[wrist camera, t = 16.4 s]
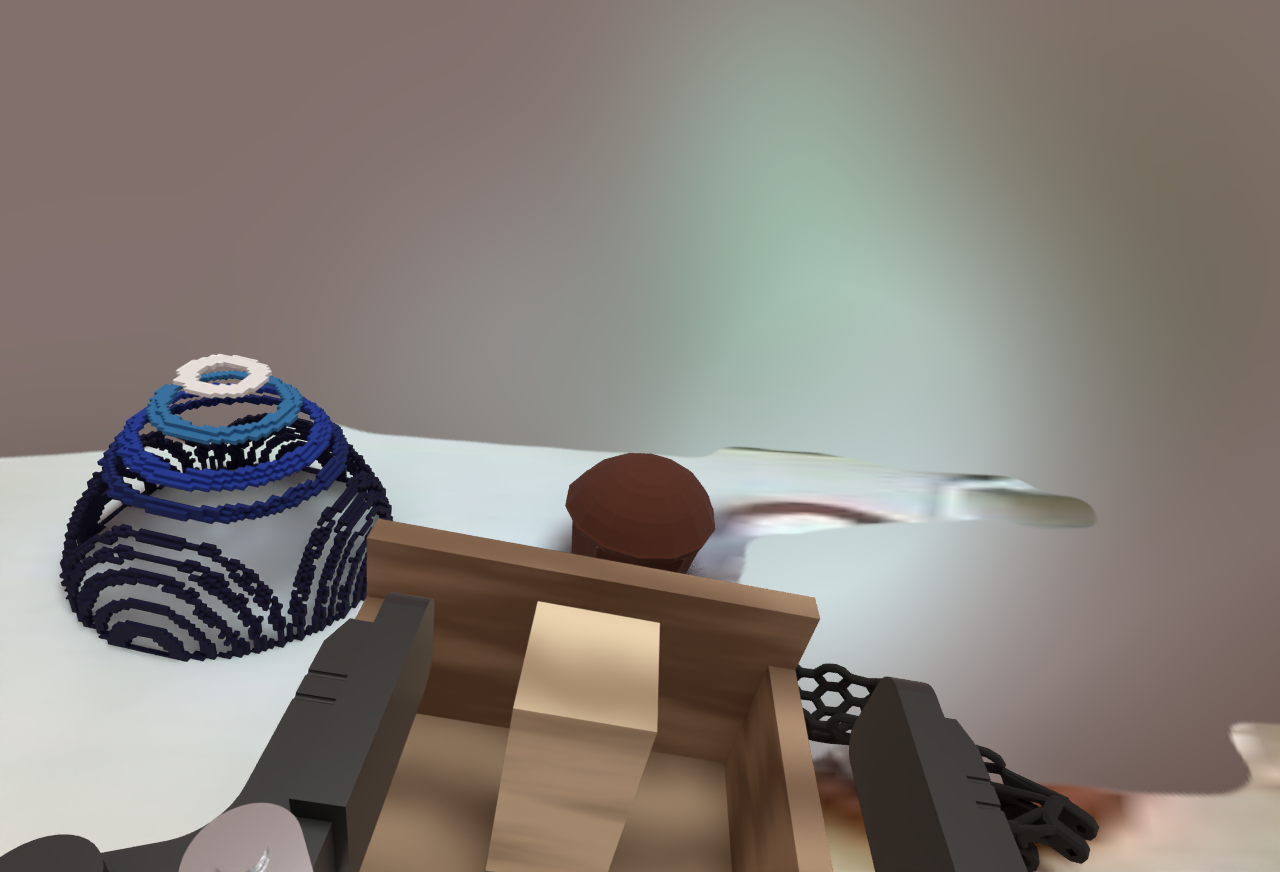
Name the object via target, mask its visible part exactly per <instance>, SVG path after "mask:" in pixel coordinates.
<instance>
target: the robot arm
mask: <svg viewBox="0 0 1280 872" xmlns="http://www.w3.org/2000/svg"><path fill="white" fill-rule="evenodd" d="M433 627H434V600H433V599H430V598H424V597H418V596H412V595H406V594H400V593H394V592H390V593H389V594H388V595H387V596H386V598H385V599H384V601H383V603H382V605H381V608H380V610H379V612H378V614H377V616H376V618H375V620H374V622H369V621H363V620H356V619H349V620H348V621H346V622H345V623H344V624H343V625H342V626H341V627H339V628H338V629H337V630H336V631H335V632H334V633H333V634H331V635H330V636H329V637H328V638H327V639H326V640H324V642H323V644H322V646H321V647H320V649H319V651H318V653H317V655H316V657H315V658H314V660H313V662H312V664H311V666H310V668H309V671H308V674H307V675H305V677H304V679H303V680H302V682H301V684H300V686H299V688H298V690H297V691H296V695H295V698H294V699H292V701H291V702H290V704H289V706H288V708H287V710H286V712H285V713H284V715H283V717H282V719H281V721H280V723H279V724H278V726H277V728H276V730H275V732H274V734H273V736H272V737H271V739H270V741H269V743H268V745H267V747H266V748H265V750H264V752H263V754H262V756H261V758H260V759H259V761H258V763H257V765H256V767H255V769H254V770H253V772H252V774H251V776H250V778H249V780H248V781H247V783H246V785H245V787H244V788H243V790H242V792H241V793H240V795H239V796H238V797H237V798H236V800H235V801H234V802H233V803H232V804H231V805H230V806H229V807H228V808H227V809H226V810H225V811H224V812H223V813H222V814H221V815H219V816H218V817H217V818H216V819H214V820H212V821H211V822H210V823H208V824H207V825H205V826H204V827H202V828H200V829H198V830H196V831H194V832H192V833H190V834H187V835H185V836H182V837H179V838H176V839H172V840H168V841H163V842H158V843H153V844H147V845H142V846H136V847H131V848H125V849H120V850H114V851H109V852H104V853H100V851H99V850H98V848H97V847H96V846H95V844H93V843H92V842H90V841H89V840H88V839H85V838H83V837H80V836H75V835H53V836H46V837H43V838H39V839H36V840H33V841H30V842H28V843H25V844H23V845H21V846H19V847H17V848H15V849H13V850H11V851H9V852H8V853H6V854H5V855H3V856H1V857H0V872H359V871H360V868H361V866H362V863H363V860H364V857H365V855H366V852H367V849H368V846H369V843H370V841H371V838H372V835H373V832H374V830H375V827H376V824H377V821H378V818H379V816H380V813H381V810H382V807H383V805H384V802H385V799H386V796H387V794H388V791H389V788H390V785H391V782H392V780H393V777H394V774H395V771H396V769H397V766H398V763H399V760H400V758H401V755H402V752H403V749H404V746H405V744H406V741H407V738H408V735H409V733H410V730H411V727H412V724H413V721H414V719H415V716H416V713H417V710H418V708H419V705H420V702H421V699H422V697H423V694H424V691H425V688H426V684H427V680H428V676H429V672H430V667H431V661H432V649H433ZM849 756H850V763H851V767H852V772H853V776H854V781H855V785H856V789H857V794H858V798H859V803H860V807H861V811H862V816H863V820H864V824H865V829H866V833H867V838H868V842H869V846H870V851H871V855H872V860H873V864H874V868H875V872H1028V871H1027V868H1026V866H1025V863H1024V861H1023V858H1022V856H1021V853H1020V851H1019V848H1018V846H1017V844H1016V841H1015V839H1014V836H1013V834H1012V831H1011V829H1010V826H1009V824H1008V821H1007V819H1006V816H1005V814H1004V811H1001V809H1000V806H1001V804H1000V801H999V799H998V796H997V794H996V791H995V789H994V786H993V785H991V784H990V780H991V779H990V776H989V774H988V771H987V769H986V766H985V764H984V761H983V759H982V756H981V754H980V752H979V749H978V747H977V746H976V745H975V744H974V742H973V741H972V740H971V738H970V737H969V736H968V734H967V733H966V732H965V730H964V729H963V728H962V727H961V725H960V724H959V723H958V721H957V720H955V719H949V718H944V715H943V712H942V710H941V707H940V704H939V702H938V699H937V696H936V694H935V692H934V690H933V688H932V687H931V686H930V685H929V684H927V683H922V682H917V681H910V680H905V679H898V678H892V677H884V678H882V679H881V680H880V681H879V683H878V685H877V686H876V688H875V690H874V691H873V693H872V695H871V696H870V698H869V700H868V702H867V703H866V705H865V707H864V708H863V710H862V712H861V714H860V715H859V717H858V719H857V720H856V722H855V724H854V726H853V728H852V731H851V735H850V742H849Z"/></svg>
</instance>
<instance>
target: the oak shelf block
mask: <svg viewBox="0 0 1280 872" xmlns="http://www.w3.org/2000/svg"><path fill="white" fill-rule="evenodd" d="M659 632H660V623H657V622H651V621H646V620H640V619H635V618H629V617H623V616H618V615H612V614H607V613H601V612H595V611H590V610H584V609H579V608H573V607H567V606H562V605H556V604H551V603H545V602H539V601H538V603H537V607H536V611H535V616H534V620H533V624H532V629H531V633H530V637H529V642H528V646H527V650H526V655H525V659H524V663H523V668H522V672H521V676H520V681H519V685H518V689H517V694H516V698H515V702H514V707H513V712H512V718H511V724H510V730H509V736H508V742H507V747H506V753H505V759H504V765H503V771H502V777H501V783H500V789H499V794H498V800H497V806H496V812H495V818H494V824H493V830H492V836H491V841H490V847H489V853H488V859H487V865H486V871H492V872H608V870H609V867H610V865H611V862H612V859H613V856H614V853H615V850H616V848H617V845H618V842H619V839H620V836H621V833H622V831H623V828H624V825H625V822H626V819H627V816H628V814H629V811H630V808H631V805H632V802H633V799H634V797H635V794H636V791H637V788H638V785H639V782H640V780H641V777H642V774H643V771H644V768H645V765H646V763H647V760H648V757H649V754H650V751H651V748H652V746H653V743H654V740H655V737H656V734H657V718H658V675H659Z"/></svg>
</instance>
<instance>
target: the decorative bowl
mask: <svg viewBox="0 0 1280 872" xmlns="http://www.w3.org/2000/svg"><path fill="white" fill-rule="evenodd" d="M217 366H218V367H223V366H228V367H233V368H237V369H241V370H246V371H243V372H239V371H228V372H225V371H223V372H219V371H217V372H216V373H214V372H211V373H209V374H208V375H207V374H203V375H202V374H201V373H203V372H204V371H205V370H207V369H210V370H213V369H214V368H216V367H217ZM176 374H177V375H178V377H177V378H176V379H174V380H173V384H171V385H167V384H166V385H164V386H163V387H161V388H160V389H158V390H157V391H155V392H154V393H155V396H153V397H152V398H150V403H148V406H147V407H146V408H144V409H143V410H141V411H140V412H138V413H137V414H135V415H134V416H132V417H131V418H130V419H128V420H127V421H126V425H125V426H124V430H123V431H122V432H120V433H119V434H118V436H116V437H115V438H114V439H115V441H114V442H113V443H111V444H110V445H109V449H108V450H107V451H105V452H104V453H103V454H104V457H103V458H102V459H100V460H99V461H97V462H98V465H100V466H103V467H102V471H101V472H94V473H93V474H92V475H93V478H92V479H90V480H89V481H87V485H88V489H87V490H86V491H84V492H83V493H82V496H83V497H81V498H80V499H79V500H78V501H76V502H77V505H76V506H75V507H74V510H75V511H73V512H72V517H71V518H69V520H70V522H69V523H68V524H67V529H68V532H66V533H65V538H66V541H65V542H64V549H65V550H63V551H62V554H63V556H62V557H63V559H62V560H61V562H60V565H61V568H62V571H63V572H62V573H61V574H60V578H63V579H64V580H63V581H62V582H61V585H62V586H66V589H65V590H64V591H66V592H68V594H69V595H67V597H66V599H68V600H69V602H70V605H71V608H72V612H75V613H77V614H76V615H77V618H78V621H80V622H83V626H84V627H89V628H93V629H96V630H97V633H98V634H101V635H100V636H99V638H101V639H106V640H107V641H108V644H110V645H114V646H119V647H123V648H127V649H132V650H136V651H141V652H145V653H150V654H154V655H159V656H163V657H168V658H172V659H177V660H181V661H186V662H188V660H189V659H190V658H191V659H195V660H200V661H204V660H205V659H206V658H209V659H213V660H215V659H216V658H217V656H218V657H222V658H227V659H231V658H232V656H236V657H240V658H242V656H243V655H244V654H245V655H249V654H250V652H253V653H258V654H260V652H261V651H267V649H268V648H270V649H273V648H274V646H278V647H282V648H283V647H284V646H285V644H286V643H287V642H292V641H293V640H294V639H296V640H300V641H302V640H303V639H304V638H305V636H306V635H310V636H311V634H312V633H317V632H318V631H319V630H320V631H323V630H324V628H325V627H326V625H328V626H331V625H332V623H333V622H334V620H336V621H339V619H340V618H342V619H344V618H345V617H346V615H347V614H348V612H349V611H350V609H351V607H352V608H356V606H357V605H358V603H359V602H360V600H363V601H365V599H366V597H367V552H366V554H365V558H364V559H363V561H362V565H361V567H360V571H359V573H358V574H357V576H356V583H355V590H354V592H353V602H352V604H351V606H350V603H349V595H350V594H351V586H352V585H353V580H354V579H355V574H356V570H357V568H358V564H359V562H360V561H361V559H362V555H363V554H364V552H365V548H366V546H367V537H368V535H369V533H370V531H371V530H372V528H373V527H371V528H370V530H369V531H368V533H367V534H366V535H365V540H364V541H363V543H362V544H361V546H360V547H359V548H358V550H357V551H356V556H355V557H354V558H353V557H350V558H349V559H348V563H352V565H351V569H350V571H349V575H348V576H347V581H346V582H345V586H344V585H341V586H340V588H339V592H337V587H338V586H339V581H340V580H341V576H342V574H343V570H344V568H345V564H346V559H347V558H348V556H349V555H350V550H351V549H352V548H353V546H354V542H355V540H356V539H357V538H358V536H359V535H360V536H363V535H364V534H365V532H366V531H367V530H368V528H369V527H370V525H371V524H372V523H373V519H371V518H372V517H374V516H375V515H376V514H377V515H380V516H379V517H380V518H383V520H389V521H393V516H391V510H392V505H390V504H389V501H388V498H387V497H386V489H385V488H383V485H382V484H381V482H380V481H379V479H378V477H375V473H374V472H372V468H370V466H369V465H367V464H365V460H364V459H363V456H362V455H358V452H356V451H355V449H353V445H350V444H348V442H347V439H346V438H345V435H343V429H341V427H340V426H339V425H337V424H335V423H332V422H331V420H330V417H329V416H327V415H326V413H325V412H324V409H322V408H320V407H318V406H316V403H313V402H311V401H309V400H307V399H305V397H303V396H301V394H300V393H299V391H297V388H294V387H292V385H290V384H286V383H282V380H280V379H279V378H275V377H273V376H271V375H272V371H271V370H270V368H268V365H265V364H261V363H258V360H254V359H249V358H245V357H241V356H237V355H233V356H227V355H222V354H218V355H211V356H209V357H208V358H205V357H202V358H200V359H199V360H192V361H190V362H188V363H187V364H185V365H184V366H182V367H181V368H179V369H177V370H176ZM229 378H231V379H234V378H235V379H239V380H242V381H241V382H239V383H237V384H230V383H227V384H226V385H225V384H220V383H215V382H214V383H212V384H209V383H205V382H208V381H210V380H213V381H215V380H217V379H219V380H222V379H225V380H227V379H229ZM182 388H183V389H184V390H185V392H184V391H180V392H178V391H179V390H181V389H182ZM249 392H256V393H260V394H261V393H263V392H266V393H270V394H274V395H279V396H280V398H281V399H279V398H275V397H271V396H266V395H263V396H262V397H261V396H257V395H253V394H250V395H249V396H248V395H246V394H247V393H249ZM199 396H203V398H202V399H200V400H194V401H191V400H190V401H188V402H186V403H185V404H183V403H180V404H178V405H177V404H174V403H175V402H177V401H178V400H180V399H181V398H182V399H186V398H193V397H199ZM235 402H238V403H244V402H248V403H252V404H256V405H259V404H261V403H262V404H266V405H270V406H272V405H273V404H275V405H278V406H277V411H276V412H275V413H269V414H268V413H264V414H261V415H260V414H258V415H256V416H252V415H247V416H246V417H244V418H243V419H240V418H238V419H237V420H235V421H234V423H231V424H230V425H228V426H227V427H224V426H220V427H219V428H216V427H211V426H207V425H204V426H203V427H199V426H195V425H192V422H190V421H186V420H182V418H181V416H176V415H175V414H179V415H180V414H181V413H182V412H184V411H185V410H187V409H189V410H192V409H193V408H196V409H198V408H199V407H201V406H202V405H203V406H207V407H210V406H212V405H213V406H216V405H218V404H219V403H224V404H228V405H232V404H233V403H235ZM171 403H172V404H173V405H172V406H171V407H169V406H168V405H170V404H171ZM299 412H303V413H305V414H308V415H310V419H312V420H315V421H314V424H313V422H312V421H308V420H304V419H300V418H298V415H297V414H298V413H299ZM148 422H149V423H151V426H155V427H156V428H157V430H158V431H157V432H154V431H151V432H150V433H149V434H147V435H146V434H142V435H141V436H140V435H139V433H138V432H139V431H140V430H141V429H143V428H144V425H145V424H146V423H148ZM286 426H288V427H292V428H296V429H291V428H286ZM295 432H296V433H300V435H299V434H295ZM165 435H168V436H172V437H176V438H178V439H181V440H183V441H185V444H186V445H189V446H191V447H195V446H197V448H196V449H195V450H194V454H195V456H197V457H198V462H199V463H201V466H202V471H201V470H200V469H199V468H198V467H195V468H194V467H193V463H194V462H196V460H195V458H191V459H190V458H189V457H190V456H191V455H192V452H189V451H188V452H187V453H186V450H183V448H182V446H183V444H182V443H180V442H177V441H176V442H174V443H173V440H170V439H165V437H164V436H165ZM273 435H276V436H275V437H273V438H272V439H270V440H269V441H267V442H266V448H265V449H264V450H262V451H261V457H260V458H258V462H259V464H257V463H255V464H254V463H253V462H255V461H256V453H255V449H258V448H259V447H261V446H262V445H264V441H265V440H267V439H268V438H270V437H271V436H273ZM296 439H300V440H304V441H308V442H304V441H299V440H298V441H297V442H291V443H290V444H288V445H282V446H281V449H279V450H278V454H276V455H275V457H276V460H273V461H272V462H270V459H269V454H270V453H271V452H272V449H274V448H275V447H277V446H278V445H280V444H281V443H283V442H284V441H285V442H289V441H290V440H293V441H295V440H296ZM251 441H252V444H253V447H251V448H250V451H249V452H248V453H247V456H248V458H247V459H245V457H244V449H245V448H246V447H248V446H249V442H251ZM209 443H211V444H209ZM224 443H226V444H224ZM228 443H229V444H230V445H229V446H228V447H227V444H228ZM146 446H150V447H153V448H156V449H157V448H159V450H161V451H164V450H165V449H166V450H168V452H169V453H170V454H172V457H174V458H177V459H178V462H181V465H182V470H183V473H180V470H177V466H173V465H171V464H170V463H169V462H170V459H168V458H166V459H165V460H164V458H163V457H160V456H157V455H155V454H154V453H150V452H147V451H145V450H144V447H146ZM241 448H242V449H241ZM210 450H213V451H214V456H210V457H209V455H208V452H209V451H210ZM330 452H332V453H330ZM227 453H228V455H230V456H231V461H227V462H226V465H227V468H226V467H224V466H223V461H225V460H226V458H225V454H227ZM334 456H335V457H334ZM208 458H209V461H210V468H211V469H207V463H206V459H208ZM215 459H216V460H217V462H218V469H217V470H216V465H215ZM315 460H318V463H320V464H321V466H322V467H323V468H322V469H321V470H320V469H316V468H311V467H309V466H310V465H311V464H312V463H313V462H314V461H315ZM354 461H355V462H354ZM307 466H308V467H307ZM127 467H128V468H129V469H126V468H127ZM235 468H236V469H237V470H236V471H235V472H233V471H229V470H234V469H235ZM301 470H302V471H306V472H310V473H315V474H317V475H316V479H315V480H314V482H313V483H312V480H309V479H307V480H306V481H305V483H304V484H301V483H299V484H298V485H297V486H296V487H295V488H293V487H290V488H289V489H288V490H287V491H286V492H285V493H284V494H283V495H282V496H281V497H279V496H275V495H272V496H271V497H270V498H269V499H268V500H267V501H266V502H265V503H264V502H260V501H255V503H254V504H253V505H252V506H249V505H245V504H240V503H237V504H236V505H230V504H225V505H224V506H220V505H219V506H218V507H217V508H214V507H210V506H205V505H202V506H201V507H200V508H199V507H195V506H190V505H186V504H181V503H177V502H173V501H168V500H164V499H160V498H155V497H151V496H149V495H150V494H152V493H153V492H154V491H155V490H156V489H160V490H161V489H162V488H163V487H164V486H167V487H172V488H176V489H181V490H185V491H189V492H192V491H194V490H200V491H204V492H209V491H211V490H214V491H219V492H221V491H222V490H223V489H224V490H228V491H233V490H234V489H238V490H243V491H244V490H245V489H246V488H247V487H248V486H253V487H257V488H258V487H259V486H260V485H262V486H265V485H266V484H267V483H268V482H269V481H272V482H274V481H275V480H282V479H283V478H284V477H285V476H289V477H290V476H291V475H292V474H293V473H294V472H297V473H299V472H300V471H301ZM346 470H347V472H350V475H353V477H351V478H347V473H346ZM123 477H127V478H131V479H135V478H137V480H139V481H143V482H144V486H145V491H144V492H142V493H141V494H140V491H139V490H135V489H133V488H132V484H128V483H125V482H124V480H123ZM335 480H336V481H340V482H345V483H346V487H347V488H346V490H345V491H344V492H343V493H342V495H341V496H340V497H339V498H338V500H337V501H336V502H335V503H334V504H333V506H332V507H326V508H325V510H324V511H323V512H322V513H321V518H320V519H319V520H318V522H317V525H318V526H321V527H320V529H318V528H315V529H314V530H313V531H312V532H311V537H310V538H309V543H308V544H307V546H306V547H305V551H304V553H303V557H302V559H301V563H300V565H299V569H298V571H297V575H296V577H295V581H294V583H293V587H297V590H298V591H297V590H293V591H292V592H291V598H292V599H291V600H290V601H289V605H290V608H289V610H288V614H291V615H292V621H293V624H292V623H288V624H287V626H286V618H285V617H283V616H281V609H282V608H283V604H281V603H278V597H276V596H273V597H272V599H271V595H272V594H273V590H272V589H269V587H268V585H264V581H260V580H259V574H256V573H254V570H253V569H248V568H245V565H244V564H240V560H236V559H232V558H231V559H230V560H229V561H228V558H226V557H222V556H219V555H220V554H221V553H222V551H221V549H217V547H216V545H213V544H209V543H204V542H203V543H202V544H201V545H197V544H193V543H189V542H186V539H185V538H181V537H177V536H172V535H168V534H163V533H159V532H155V531H150V530H146V529H140V530H138V531H136V530H132V526H129V525H125V524H122V525H121V526H115V525H114V526H113V527H112V528H111V530H112V532H111V531H106V532H105V533H103V534H102V535H97V534H98V533H99V532H101V531H102V530H103V529H104V528H105V527H106V526H104V524H106V523H107V522H108V521H109V520H111V519H112V518H113V517H114V516H116V515H117V514H118V513H119V512H120V511H122V510H123V509H124V508H125V507H127V506H130V507H131V506H135V507H139V508H143V509H145V512H146V513H150V514H154V515H159V516H163V517H167V518H172V519H176V520H181V521H185V522H187V521H188V520H189V519H192V520H196V521H200V522H205V523H209V524H213V523H214V522H215V521H216V522H220V523H224V524H229V523H230V522H235V523H236V522H237V521H238V520H241V521H243V520H244V519H245V518H247V519H252V520H255V519H256V518H262V517H263V516H267V517H268V516H269V515H270V514H273V515H275V514H276V513H277V512H278V513H282V512H283V511H284V510H285V509H286V508H288V509H291V508H292V507H298V506H299V504H300V503H301V502H302V501H303V500H307V501H308V500H309V499H310V498H311V496H315V497H316V496H317V495H318V494H319V493H320V492H321V491H322V490H327V489H328V488H329V487H330V486H331V485H332V483H333V482H334V481H335ZM156 484H159V485H160V486H159V487H157V485H156ZM146 490H147V491H146ZM367 490H368V493H367ZM357 492H360V493H359V494H358V495H357V497H356V498H355V499H354V500H353V502H352V503H351V504H350V506H349V507H348V508H347V509H346V511H345V512H344V513H343V515H342V516H341V517H340V518H339V520H338V524H337V526H336V527H335V528H334V532H335V533H338V534H337V535H336V536H335V538H334V545H333V547H332V548H331V549H330V554H329V555H328V557H327V558H326V563H325V564H324V569H323V570H322V571H323V573H322V574H321V579H320V580H319V588H318V590H317V598H316V599H315V607H314V608H313V611H314V614H313V616H312V626H311V625H308V626H307V627H306V630H304V627H305V625H306V621H305V616H306V615H307V604H303V602H302V601H306V602H307V600H308V599H309V594H310V593H311V590H310V586H311V585H312V580H313V579H314V571H315V570H316V566H315V565H312V564H313V563H314V559H317V560H318V559H319V558H320V556H321V555H322V550H323V549H324V544H325V543H326V542H327V541H328V539H329V538H330V533H331V532H332V527H333V526H334V525H335V524H336V522H335V520H331V519H332V518H333V517H334V516H335V514H336V513H337V512H339V513H342V511H343V510H344V509H345V508H346V506H347V505H348V504H349V502H350V501H351V500H352V499H353V497H354V496H355V495H356V493H357ZM364 498H365V500H364ZM112 499H114V500H119V501H121V503H122V504H123V505H122V506H120V507H119V508H118V509H117V510H115V511H114V512H113V513H112V514H110V515H109V516H108V517H107V518H105V519H104V520H103V521H102V522H100V523H99V524H98V521H99V520H100V516H101V515H102V511H103V510H104V509H105V508H104V505H106V504H107V503H108V502H110V501H111V500H112ZM365 501H366V502H365ZM371 506H372V507H373V508H372V509H371V510H370V512H369V513H368V514H367V516H366V520H367V522H366V523H365V525H364V526H363V527H362V529H361V530H360V532H354V534H353V535H352V537H351V538H350V539H349V541H348V545H347V547H346V548H345V549H344V554H343V555H342V560H341V561H340V563H339V567H338V568H337V576H336V578H335V579H334V580H333V585H332V586H331V593H332V596H331V597H330V605H329V606H328V617H327V618H326V607H323V606H322V603H323V604H326V603H327V601H328V597H329V586H325V585H326V584H327V580H330V581H331V580H332V579H333V574H334V573H335V568H336V567H337V562H338V561H339V559H340V555H341V553H342V549H343V548H344V546H345V545H346V540H347V539H348V538H349V536H350V535H351V530H352V529H353V528H354V526H355V525H356V524H357V522H358V521H359V519H360V518H361V517H362V515H363V514H364V513H365V511H366V510H367V509H368V510H369V509H370V507H371ZM380 518H379V519H380ZM325 521H327V522H329V523H328V525H327V526H326V527H323V526H322V525H323V524H324V522H325ZM343 526H347V528H346V529H345V530H344V531H340V530H341V528H342V527H343ZM129 536H132V537H135V540H136V541H138V542H142V543H146V544H151V545H155V546H160V547H164V548H168V549H173V550H177V551H182V550H183V549H184V548H185V549H189V550H193V551H198V555H201V556H206V557H210V558H212V561H213V562H218V563H221V566H222V567H226V571H229V572H230V573H229V575H228V577H229V578H230V579H233V582H234V583H238V587H242V588H243V591H246V592H248V595H250V596H253V595H254V594H255V597H254V598H253V602H254V603H258V606H259V607H262V609H263V611H268V609H270V615H269V616H268V624H273V630H274V631H277V632H278V641H274V639H272V638H270V639H269V640H268V641H267V635H262V636H261V637H260V634H261V633H262V625H261V622H262V621H263V620H264V618H263V616H258V618H256V616H255V615H252V612H251V608H247V606H246V604H247V603H248V602H249V598H246V597H244V594H241V593H239V594H238V595H236V593H234V592H232V590H231V589H230V588H227V587H228V586H229V585H230V584H229V581H225V579H224V574H222V573H218V572H213V571H210V567H205V566H201V563H200V562H197V561H193V560H188V559H187V560H186V561H185V562H181V561H176V560H172V559H168V558H163V557H159V556H154V555H150V554H145V553H141V552H137V551H134V549H133V547H131V546H127V545H122V544H119V545H118V546H116V547H114V548H113V549H112V548H107V547H102V548H101V549H99V550H98V551H96V552H95V553H94V554H93V557H91V556H89V557H87V558H86V557H85V554H87V553H88V552H90V551H91V550H93V549H94V548H95V545H94V544H95V543H96V542H101V543H104V544H108V545H112V544H113V543H115V542H117V541H118V537H122V538H126V539H127V538H128V537H129ZM76 541H77V542H76ZM77 544H78V546H77ZM313 546H315V547H317V549H316V550H314V549H312V547H313ZM113 553H117V554H118V556H119V558H118V557H114V554H113ZM135 558H137V559H141V560H146V561H150V562H154V563H159V564H163V565H168V566H172V567H176V568H177V571H180V572H184V573H189V574H191V575H190V576H189V577H188V579H189V581H193V582H198V586H201V587H203V590H205V591H208V594H209V595H214V596H217V597H218V600H222V602H223V604H226V605H227V606H228V608H230V609H232V611H233V612H235V613H237V612H238V611H239V610H240V614H239V615H238V619H239V620H242V622H243V626H244V627H248V626H249V625H250V628H249V630H248V635H249V639H250V640H253V641H254V648H253V649H252V650H250V642H246V641H245V638H241V637H240V639H239V640H238V636H239V635H240V631H236V630H235V631H234V633H233V632H232V628H231V627H227V621H226V620H222V616H217V612H213V611H212V608H209V607H207V604H205V603H202V600H200V599H197V598H198V597H199V596H200V592H196V591H195V588H192V587H190V588H189V589H188V590H184V589H183V588H184V587H185V583H184V582H179V581H176V579H175V577H171V576H167V575H162V574H158V573H153V572H149V571H145V570H140V569H136V568H131V567H130V568H128V569H127V570H126V569H121V570H119V571H117V570H112V569H108V570H107V571H105V572H104V573H103V574H102V573H98V572H97V573H96V574H95V575H93V576H92V577H90V578H89V579H86V580H85V581H84V582H83V583H84V585H83V586H82V587H81V591H80V592H79V590H78V587H79V586H81V583H80V582H81V581H83V577H84V576H85V575H86V573H85V571H87V570H89V569H90V568H91V567H93V566H94V565H96V564H97V563H98V562H99V563H103V564H104V563H105V562H106V561H107V562H109V563H114V564H118V565H122V564H123V563H124V559H127V560H131V561H133V560H134V559H135ZM80 560H83V561H82V562H83V564H82V562H80ZM237 570H241V571H243V575H242V576H241V577H240V574H238V573H236V572H237ZM194 571H197V572H201V573H203V574H202V575H201V576H198V575H193V574H192V573H193V572H194ZM137 579H138V580H137ZM252 582H253V583H257V587H256V589H254V586H250V585H251V584H252ZM124 583H126V584H130V585H136V584H137V583H140V584H144V585H149V586H153V587H157V586H158V585H159V584H162V585H164V586H163V587H162V588H161V590H162V592H166V593H170V594H175V595H176V598H179V599H183V600H185V602H186V603H187V604H192V605H195V609H194V610H193V615H196V616H198V619H200V620H203V623H205V624H208V627H209V628H213V627H214V626H216V628H218V629H220V630H221V632H220V634H219V635H218V638H219V639H224V638H225V636H226V640H225V641H224V642H223V643H224V646H229V645H230V644H231V646H232V651H228V652H227V653H223V652H219V654H218V655H217V651H216V645H215V643H211V641H210V639H206V636H205V632H201V631H200V628H196V627H195V624H191V623H190V620H187V619H185V616H182V615H178V614H176V613H175V611H174V610H171V609H170V607H169V606H165V605H160V604H156V603H152V602H147V601H143V600H138V599H134V598H128V599H127V600H125V599H120V600H119V601H116V600H112V601H111V602H109V603H108V604H106V605H105V606H102V607H101V608H100V609H98V610H97V611H96V612H95V613H96V615H94V616H93V615H92V614H93V613H92V610H91V609H92V608H93V607H94V603H96V602H97V600H96V599H97V598H98V597H99V592H100V591H101V590H103V589H104V588H106V587H108V586H112V587H114V586H115V585H116V584H117V585H121V586H122V585H123V584H124ZM298 594H302V597H298ZM337 594H338V599H339V600H342V603H340V602H338V603H337V604H336V611H339V613H338V614H337V613H336V614H335V616H334V604H335V603H336V595H337ZM78 595H79V596H78ZM77 596H78V597H77ZM271 602H272V606H271V607H270V608H269V605H270V603H271ZM130 608H133V609H138V610H142V611H147V612H151V613H156V614H160V615H164V616H168V618H169V620H173V621H174V624H178V625H179V628H182V629H187V630H188V632H189V636H192V637H194V640H197V641H199V645H200V651H201V652H200V651H195V652H194V653H193V654H191V653H189V651H185V650H184V646H183V642H182V641H179V640H178V638H177V637H174V636H173V634H172V633H169V632H168V631H167V629H164V628H160V627H155V626H151V625H146V624H142V623H138V622H133V621H129V620H126V621H125V622H120V621H118V622H117V623H115V624H114V625H113V626H112V629H111V630H110V631H107V629H108V625H107V623H108V622H109V621H110V617H111V616H112V615H113V613H116V614H117V613H118V612H119V611H121V610H122V609H124V610H129V609H130ZM92 618H93V619H92ZM93 622H94V623H95V624H93ZM285 627H286V628H287V636H285V635H284V628H285ZM293 627H297V634H296V635H295V634H294V633H293ZM137 636H142V637H147V638H151V639H153V642H156V643H158V645H159V646H161V647H163V649H164V650H166V651H168V652H164V651H160V650H155V649H151V648H146V647H142V646H137V645H133V644H130V643H131V642H132V639H133V638H136V637H137Z"/></svg>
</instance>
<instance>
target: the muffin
mask: <svg viewBox="0 0 1280 872" xmlns="http://www.w3.org/2000/svg"><path fill="white" fill-rule="evenodd" d="M565 506H566V508H567V510H568V512H569V514H570V516H571V518H572V520H573V526H572V554H576V555H582V556H587V557H593V558H598V559H604V560H609V561H615V562H620V563H626V564H631V565H637V566H642V567H648V568H654V569H659V570H665V571H670V572H676V573H681V574H686V572H687V571H688V569H689V567H690V565H691V563H692V562H693V560H694V558H695V556H696V555H697V553H698V551H699V550H700V549H701V548H702V547H703V545H704V544H705V543H706V541H707V540H708V539H709V537H710V536H711V534H712V533H713V532H714V530H715V522H714V511H713V507H712V506H711V502H710V499H709V496H708V494H707V492H706V491H705V489H704V487H703V486H702V485H701V483H700V482H699V481H698V479H697V478H696V477H695V476H694V474H693V473H692V472H691V471H689V470H688V469H686V468H685V467H683V466H681V465H680V464H678V463H676V462H675V461H673V460H671V459H668V458H665V457H661V456H658V455H654V454H644V453H627V454H623V455H619V456H616V457H612V458H608V459H604V460H603V461H601V462H599V463H598V464H596V465H595V466H594V467H592V468H591V469H589V470H587V471H586V472H585V473H584V474H582V475H581V476H580V477H579V478H578V479H576V480H575V481H574V482H573V483H572V484H570V485H569V490H568V495H567V500H566V505H565Z"/></svg>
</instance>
